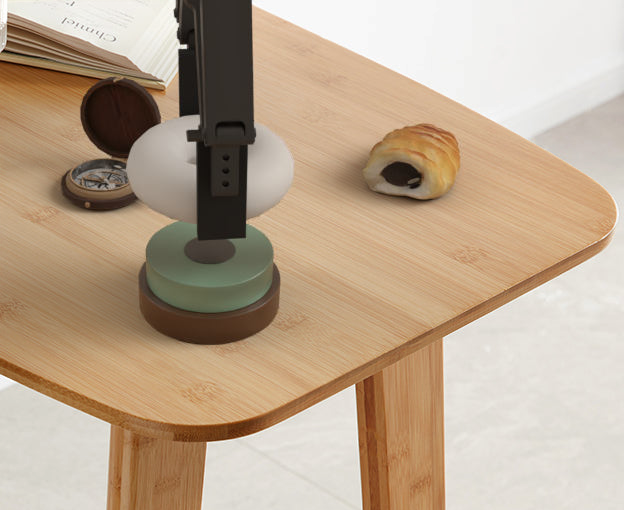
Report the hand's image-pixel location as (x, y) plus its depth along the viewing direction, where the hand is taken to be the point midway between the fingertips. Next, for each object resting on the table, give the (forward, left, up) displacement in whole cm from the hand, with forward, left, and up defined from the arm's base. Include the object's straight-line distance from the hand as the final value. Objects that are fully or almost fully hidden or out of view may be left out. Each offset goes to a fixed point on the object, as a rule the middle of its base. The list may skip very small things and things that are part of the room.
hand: (210, 188), depth 68 cm
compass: (-15, -5, -9) cm, 18 cm away
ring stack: (0, 0, -8) cm, 8 cm away
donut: (0, 0, 0) cm, 0 cm away
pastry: (-15, +17, -9) cm, 24 cm away
